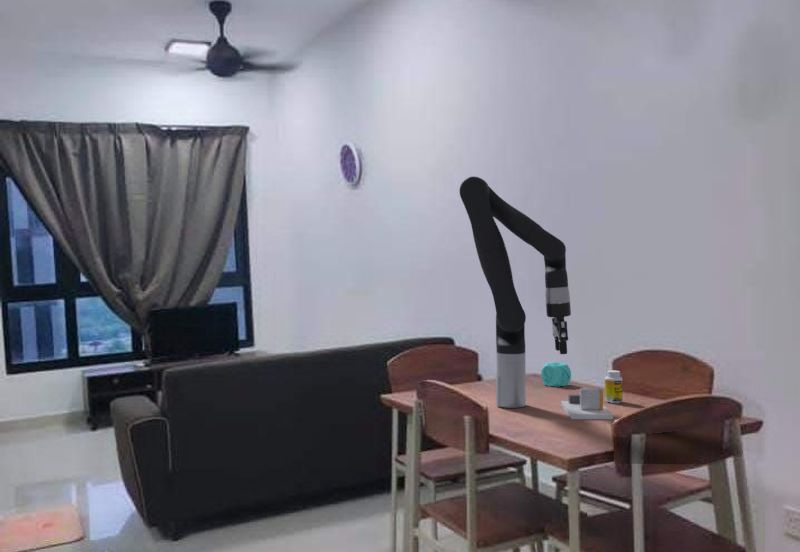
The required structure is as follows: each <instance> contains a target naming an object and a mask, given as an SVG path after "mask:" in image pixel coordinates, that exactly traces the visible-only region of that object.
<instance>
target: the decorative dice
mask: <svg viewBox="0 0 800 552" xmlns="http://www.w3.org/2000/svg"><path fill="white" fill-rule="evenodd" d="M540 376H541V380H542V383H543V384H544V385H545V386H546V385H547V386H546V387H550V386H555V387H554V388H561V387H560V386H565V387H567V386H568V385H569V384H570V382H571V379H572V371H571V368H570V366H568V364H567V363H565V362H546V363H544V365H543V366H542V367H541V371H540Z"/></svg>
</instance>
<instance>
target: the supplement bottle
mask: <svg viewBox="0 0 800 552" xmlns="http://www.w3.org/2000/svg"><path fill="white" fill-rule="evenodd" d="M606 373H607V376H605V378H604V401H605V402H606V403H608V402H610V403H609V404H621V403H622V402H623V377H622V376H621V371H620V370H614V369H613V370H607V372H606ZM620 402H621V403H620Z"/></svg>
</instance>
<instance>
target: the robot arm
mask: <svg viewBox="0 0 800 552" xmlns="http://www.w3.org/2000/svg"><path fill="white" fill-rule="evenodd" d="M459 196H460V199H461V201H462V204H463V205H464V209H465V211H466V214H467V215H468V219H469V222H470V224H471V226H470V227H471V231H472V236H473V241H474V245H475V248H476V253H477V256H478V260H479V263H480V267H481V269H482V272H483V274H484V277H485V279H486V282H487V284H488V286H489V288H490V291H491V294H492V299H493V303H494V306H495V345H496V348H495V349H496V375H495V383H496V384H495V390H496V391H495V393H496V394H495V400H496V402H495V403H496V406H497V408H511V409H516V408H524V407H525V406H527V405H526V401H527V400H526V397H527V396H526V393H527V392H526V389H527V387H526V336H525V334H526V333H525V329H526V328H525V326H526V325H525V323H526V319H527V317H526V315H527V314H526V312H525V309H523V306H522V304H521V302H520V299H519V295H518V293H517V291H516V289H515V284H514V283H515V282H514V279H513V271H512V267H511V261H510V258H509V254H508V250H507V247H506V244H505V241H504V238H503V236H502V233H501V232H500V229H499V227H498V224H497V223H496V221H495V219H496V220H497V221H498V222H499V223H501V224H502V225H503V226H504V227H505V228H507V230H508V231H510V232H511V233H512V234H513V235H514V236H517V237H518V238H519V239H521V240H522V241H523V242H524V243H526V244H528V245H529V246H531V247H533V248H534V249H535V250H536V251H537V252H538V253H540V255H542V256H543V259H544V260H543V261H544V271H545V272H544V273H545V274H544V280H545V281H544V282H545V285H544V286H545V308H546V309H545V310H546V316H547V317H548V318H551V322H552V324H551V325H552V336H553V338H554V346H555V351H557V352H558V351H559V354H560V355H567V354H568V345H567V343H568V341H569V336H568V335H569V333H568V321H565V317H569V316H571V315H572V311H571V310H572V309H571V297H570V289H569V280H568V271H567V264H566V262H567V259H566V257H567V256H566V253H567V250H566V249H567V247H566V245H565V243H564V242H563V241H562V240H561V239H560V238H558V237H557V236H555V235H553V234H551V233H550V232H548V231H547V230H545V229H544V228H543V227H542V226H541V225H540V224H539V223H538V222H536V221H534V220H533V219H532V218H531V217H529V216H528V215H526V214H525V213H523V212H522V211H520V210H518V209H517V208H515V207H514V206H512V205H511V204H510V203H508V202H507V201H505V200H504V199H503V198H502V197H500V196H499V195H498V194H497V193H496V192H495V191H494V190H493V189H492V188H491V187H490V186H489V184H488V183H487V181H485V180H484V179H483V178H481V177H479V176H469V177H466V178H465V179H463V181H462V182H461V184H460V185H459Z"/></svg>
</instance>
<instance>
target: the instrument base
mask: <svg viewBox="0 0 800 552" xmlns="http://www.w3.org/2000/svg"><path fill="white" fill-rule="evenodd" d="M567 395H568V397H567V399H568V400H561V401H560V404H561V407H562V409H563V410H564V411H565V412H566V413H567V415H568V416H569V418H570V419H571V420H614V414H613V412H612V411H610V410H609V409H608V408H607V407H606V406H605V405H604V404H603V410H581V409H580V394H567Z"/></svg>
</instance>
